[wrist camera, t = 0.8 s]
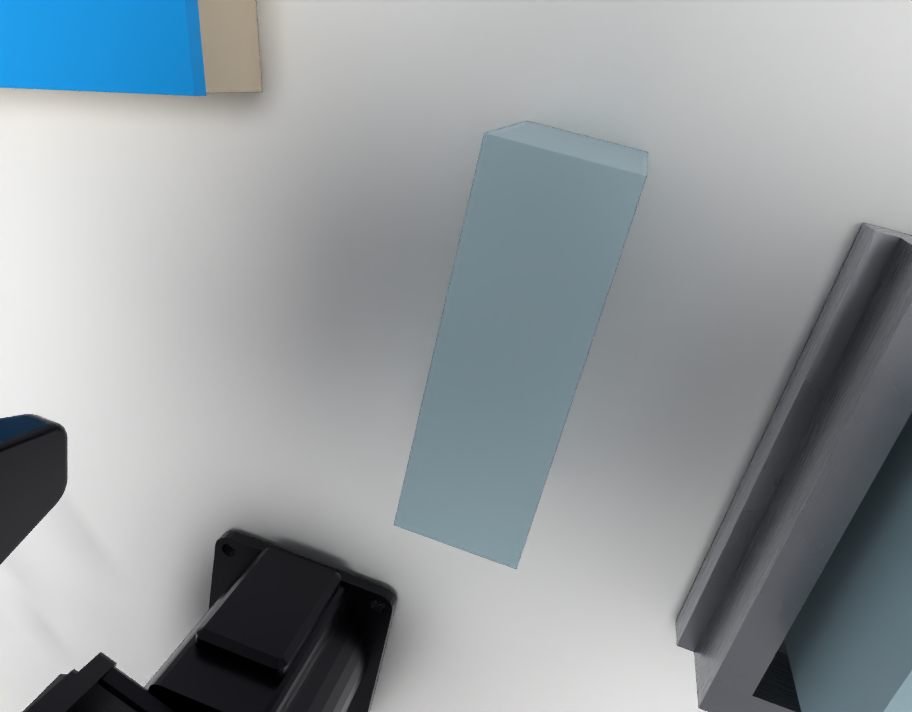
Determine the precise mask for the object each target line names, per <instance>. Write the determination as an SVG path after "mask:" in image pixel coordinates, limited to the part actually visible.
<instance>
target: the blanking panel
mask: <svg viewBox="0 0 912 712" xmlns="http://www.w3.org/2000/svg"><path fill="white" fill-rule="evenodd" d="M647 163H648V152H645V151H641V150H637V149H633V148H629V147H626V146H622V145H618V144H614V143H610V142H606V141H603V140H599V139H595V138H591V137H587V136H583V135H580V134H576V133H572V132H568V131H564V130H560V129H556V128H553V127H549V126H545V125H541V124H537V123H533V122H530V121H525V122H522V123H518V124H514V125H511V126H507V127H504V128H500V129H497V130H493V131H489V132H486V133H484V136H483V141H482V145H481V149H480V154H479V158H478V162H477V167H476V171H475V175H474V180H473V184H472V188H471V193H470V197H469V201H468V206H467V210H466V214H465V219H464V223H463V227H462V232H461V236H460V240H459V245H458V249H457V253H456V258H455V262H454V266H453V271H452V275H451V279H450V284H449V288H448V292H447V297H446V301H445V305H444V310H443V314H442V318H441V323H440V327H439V331H438V336H437V340H436V344H435V349H434V353H433V357H432V362H431V366H430V370H429V375H428V379H427V383H426V387H425V392H424V396H423V400H422V405H421V409H420V413H419V418H418V422H417V426H416V431H415V435H414V439H413V444H412V448H411V452H410V457H409V461H408V465H407V470H406V474H405V478H404V483H403V487H402V491H401V496H400V500H399V504H398V509H397V513H396V517H395V522H394V525H395V526H398V527H401V528H403V529H406V530H409V531H412V532H414V533H417V534H420V535H423V536H426V537H428V538H431V539H434V540H437V541H439V542H442V543H445V544H448V545H450V546H453V547H456V548H459V549H462V550H464V551H467V552H470V553H473V554H475V555H478V556H481V557H484V558H487V559H489V560H492V561H495V562H498V563H500V564H503V565H506V566H509V567H512V568H514V569H517V566H518V563H519V560H520V557H521V554H522V551H523V548H524V545H525V542H526V539H527V536H528V533H529V530H530V527H531V524H532V521H533V518H534V515H535V512H536V509H537V506H538V503H539V500H540V497H541V494H542V491H543V488H544V485H545V482H546V479H547V476H548V473H549V470H550V467H551V464H552V461H553V458H554V455H555V452H556V449H557V446H558V443H559V440H560V437H561V434H562V431H563V428H564V424H565V421H566V418H567V415H568V412H569V409H570V406H571V403H572V400H573V397H574V394H575V391H576V388H577V385H578V382H579V379H580V376H581V373H582V370H583V367H584V364H585V361H586V358H587V355H588V352H589V349H590V346H591V343H592V340H593V337H594V334H595V331H596V328H597V325H598V322H599V319H600V316H601V313H602V310H603V307H604V304H605V301H606V298H607V295H608V292H609V289H610V286H611V283H612V280H613V277H614V274H615V271H616V268H617V265H618V262H619V259H620V256H621V253H622V250H623V247H624V244H625V241H626V237H627V234H628V231H629V228H630V225H631V222H632V219H633V216H634V213H635V210H636V207H637V204H638V201H639V198H640V195H641V192H642V189H643V186H644V183H645V180H646V177H647Z"/></svg>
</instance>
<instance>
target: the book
mask: <svg viewBox="0 0 912 712" xmlns="http://www.w3.org/2000/svg"><path fill="white" fill-rule="evenodd" d="M0 87H4V88H27V89H50V90H73V91H96V92H119V93H142V94H165V95H188V96H206V92H262V82H261V67H260V51H259V36H258V21H257V6H256V0H0Z"/></svg>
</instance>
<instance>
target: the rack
mask: <svg viewBox="0 0 912 712" xmlns="http://www.w3.org/2000/svg"><path fill="white" fill-rule="evenodd" d="M911 413H912V235H908V234H904V233H900V232H896V231H893V230H889V229H885V228H881V227H877V226H874V225H870V224H866V223H863V225H862V227H861V229H860V231H859V233H858V235H857V237H856V239H855V242H854V244H853V246H852V248H851V250H850V252H849V254H848V256H847V259H846V261H845V263H844V265H843V267H842V269H841V271H840V273H839V276H838V278H837V280H836V282H835V284H834V286H833V288H832V290H831V293H830V295H829V297H828V299H827V301H826V303H825V305H824V307H823V310H822V312H821V314H820V316H819V318H818V320H817V322H816V324H815V327H814V329H813V331H812V333H811V335H810V337H809V339H808V342H807V344H806V346H805V348H804V350H803V352H802V354H801V356H800V359H799V361H798V363H797V365H796V367H795V369H794V371H793V373H792V376H791V378H790V380H789V382H788V384H787V386H786V388H785V390H784V393H783V395H782V397H781V399H780V401H779V403H778V405H777V407H776V410H775V412H774V414H773V416H772V418H771V420H770V422H769V424H768V427H767V429H766V431H765V433H764V435H763V437H762V439H761V441H760V444H759V446H758V448H757V450H756V452H755V454H754V456H753V458H752V461H751V463H750V465H749V467H748V469H747V471H746V473H745V475H744V478H743V480H742V482H741V484H740V486H739V488H738V490H737V492H736V495H735V497H734V499H733V501H732V503H731V505H730V507H729V509H728V512H727V514H726V516H725V518H724V520H723V522H722V524H721V526H720V529H719V531H718V533H717V535H716V537H715V539H714V541H713V544H712V546H711V548H710V550H709V552H708V554H707V556H706V558H705V561H704V563H703V565H702V567H701V569H700V571H699V573H698V575H697V578H696V580H695V582H694V584H693V586H692V588H691V590H690V592H689V595H688V597H687V599H686V601H685V603H684V605H683V607H682V609H681V612H680V614H679V616H678V618H677V620H676V636H677V646H680V647H682V648H685V649H688V650H691V651H693V652H694V655H695V668H696V682H697V695H698V708H700V709H702V710H705V711H708V712H801V708H800V704H799V700H798V696H797V691H796V687H795V683H794V679H793V675H792V671H791V666H790V662H789V658H788V654H787V650H786V646H785V641H784V638H785V636H786V635H787V633H788V631H789V629H790V628H791V626H792V624H793V622H794V620H795V619H796V617H797V615H798V613H799V612H800V610H801V608H802V606H803V605H804V603H805V601H806V599H807V597H808V596H809V594H810V592H811V590H812V589H813V587H814V585H815V583H816V581H817V580H818V578H819V576H820V574H821V573H822V571H823V569H824V567H825V565H826V564H827V562H828V560H829V558H830V557H831V555H832V553H833V551H834V550H835V548H836V546H837V544H838V542H839V541H840V539H841V537H842V535H843V534H844V532H845V530H846V528H847V526H848V525H849V523H850V521H851V519H852V518H853V516H854V514H855V512H856V511H857V509H858V507H859V505H860V503H861V502H862V500H863V498H864V496H865V495H866V493H867V491H868V489H869V487H870V486H871V484H872V482H873V480H874V479H875V477H876V475H877V473H878V471H879V470H880V468H881V466H882V464H883V463H884V461H885V459H886V457H887V456H888V454H889V452H890V450H891V448H892V447H893V445H894V443H895V441H896V440H897V438H898V436H899V434H900V432H901V431H902V429H903V427H904V425H905V424H906V422H907V420H908V418H909V416H910V415H911Z"/></svg>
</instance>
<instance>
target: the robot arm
mask: <svg viewBox="0 0 912 712" xmlns="http://www.w3.org/2000/svg"><path fill="white" fill-rule="evenodd" d="M66 485H67V433H66V431H65V429H64V427H63V426H61V425H60V424H59V423H56V422H54V421H51V420H48V419H46V418H43V417H41V416H38V415H34V414H24V415H18V416H12V417H6V418H0V564H1V563H2V562H3V561H4V560H5V559H6V558H7V557H8V556H9V555H10V553H11V552H12V551H13V550H14V549H15V548H16V547H17V546H18V545H19V544H20V543H21V542H22V540H23V539H24V538H25V537H26V536H27V535H28V534H29V533H30V532H31V531H32V530H33V528H34V527H35V526H36V525H37V524H38V523H39V522H40V521H41V520H42V519H43V518H44V517H45V515H46V514H47V513H48V512H49V511H50V510H51V509H52V508H53V507H54V506H55V505H56V503H57V502H58V501H59V500H60V498H61V496H62V495H63V493H64V491H65V488H66ZM229 544H230V545H232V546H233V547H234V548H232V547H231V546H230V545H229ZM376 600H377V601H381V602H382V603H383V604H384V605H381V604H380V603H378V602H377V601H376ZM395 607H396V597H395V595H394V594H393V593H392V592H391V591H390V590H389V589H387V588H385V587H383V586H380V585H377V584H375V583H372V582H369V581H367V580H364V579H361V578H359V577H356V576H353V575H351V574H348V573H345V572H343V571H340V570H337V569H335V568H332V567H329V566H327V565H324V564H321V563H319V562H316V561H313V560H311V559H308V558H305V557H303V556H300V555H297V554H295V553H292V552H289V551H286V550H284V549H281V548H278V547H276V546H273V545H270V544H268V543H265V542H262V541H260V540H257V539H254V538H252V537H249V536H246V535H244V534H241V533H238V532H235V531H227V532H225V533H224V534H223V535H222V536H221V537H220V538H219V539H218V540H217V542H216V545H215V554H214V564H213V574H212V584H211V594H210V604H209V611H208V612H207V613H206V614H205V615H204V617H203V618H202V619H201V620H200V621H199V623H198V624H197V625H196V626H195V627H194V629H193V630H192V631H191V632H190V633H189V634H188V636H187V637H186V638H185V639H184V640H183V642H182V643H181V644H180V645H179V646H178V648H177V649H176V650H175V651H174V652H173V653H172V655H171V656H170V657H169V658H168V659H167V661H166V662H165V663H164V664H163V665H162V667H161V668H160V669H159V670H158V671H157V672H156V674H155V675H154V676H153V677H152V678H151V680H150V681H149V682H148V683H147V684H146V686H145V687H142V686H141V685H140V684H138V683H137V682H135V681H134V680H133V679H131V678H130V677H129V676H127V675H126V674H124V673H123V672H122V671H120V670H119V669H118V668H116V667H115V666H116V664H117V663H116V662H114V661H113V660H111V659H110V658H109V657H107V656H106V655H105V654H103V653H102V652H100V653H99V654H98V655H97V656H96V657H95V658H93V659H92V660H91V661H90V662H89V663H88V664H87V665H86V666H84V667H83V668H82V669H81V670H80V671H79V672H78V671H76V670H75V669H74V670H72V671H71V672H70V673H69V674H68V675H67V674H60V675H59V676H58V677H57V678H56V679H55V680H54V681H53V682H52V683H51V684H50V685H49V686H48V687H47V688H46V689H45V690H44V691H43V692H42V693H41V694H40V695H39V696H38V697H37V698H36V699H35V700H34V701H33V702H32V703H31V704H30V705H29V706H28V707H27V708H26V709H25V710H24V711H23V712H370V709H371V705H372V701H373V697H374V693H375V689H376V685H377V681H378V676H379V672H380V668H381V664H382V660H383V656H384V652H385V648H386V644H387V640H388V636H389V632H390V628H391V624H392V619H393V615H394V611H395Z"/></svg>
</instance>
